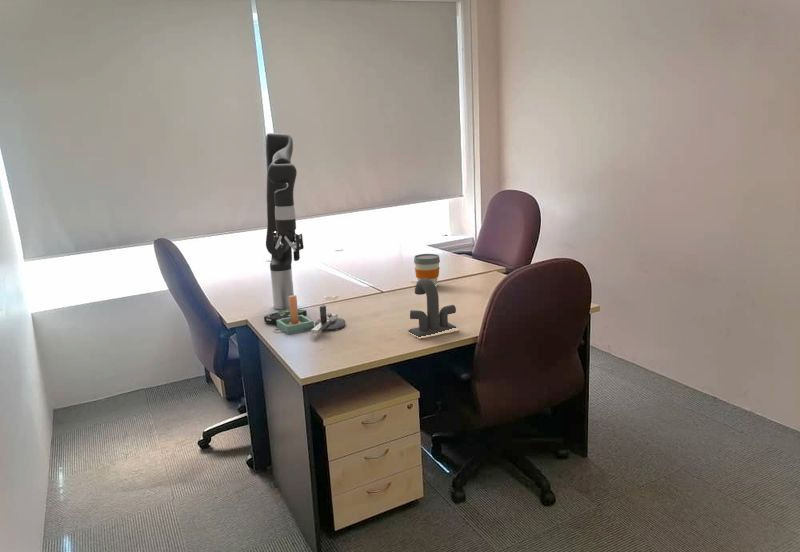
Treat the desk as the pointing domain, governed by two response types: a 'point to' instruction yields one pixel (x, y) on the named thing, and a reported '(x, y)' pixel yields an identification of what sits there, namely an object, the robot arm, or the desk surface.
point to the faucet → (431, 311)
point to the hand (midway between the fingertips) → (288, 259)
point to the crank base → (333, 325)
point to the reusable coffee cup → (427, 267)
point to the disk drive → (281, 315)
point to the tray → (304, 325)
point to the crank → (324, 320)
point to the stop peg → (293, 310)
